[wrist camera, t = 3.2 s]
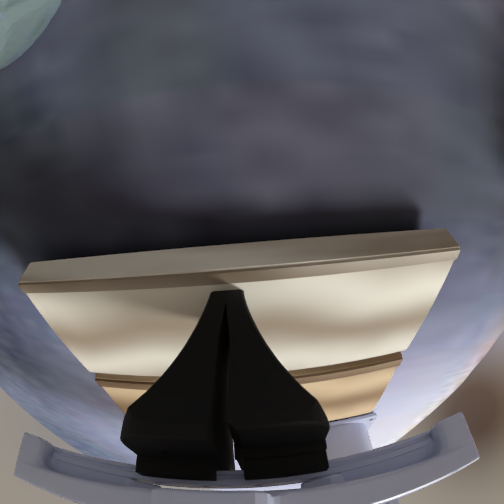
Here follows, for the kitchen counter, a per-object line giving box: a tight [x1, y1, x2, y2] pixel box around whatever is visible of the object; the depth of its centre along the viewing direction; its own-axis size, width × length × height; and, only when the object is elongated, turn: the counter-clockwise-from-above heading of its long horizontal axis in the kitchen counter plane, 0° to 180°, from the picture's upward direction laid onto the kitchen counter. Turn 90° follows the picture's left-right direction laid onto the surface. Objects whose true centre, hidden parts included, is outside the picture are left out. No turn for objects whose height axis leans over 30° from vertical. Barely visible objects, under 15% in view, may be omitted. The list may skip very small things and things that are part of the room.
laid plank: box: [95, 351, 402, 421], centre depth 20 cm, size 9×22×2 cm, turn 94°
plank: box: [19, 228, 460, 376], centre depth 15 cm, size 9×22×2 cm, turn 94°
